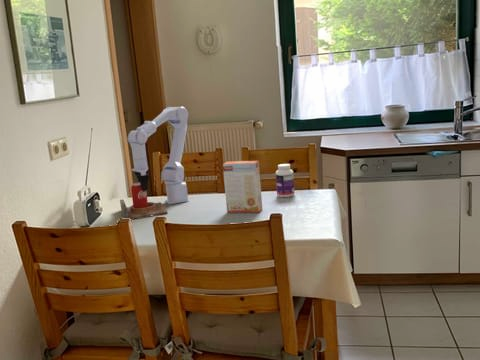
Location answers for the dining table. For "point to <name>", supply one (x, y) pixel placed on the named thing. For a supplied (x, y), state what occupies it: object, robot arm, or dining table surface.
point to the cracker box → (242, 186)
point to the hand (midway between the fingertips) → (143, 188)
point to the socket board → (142, 210)
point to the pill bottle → (284, 181)
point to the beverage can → (139, 196)
